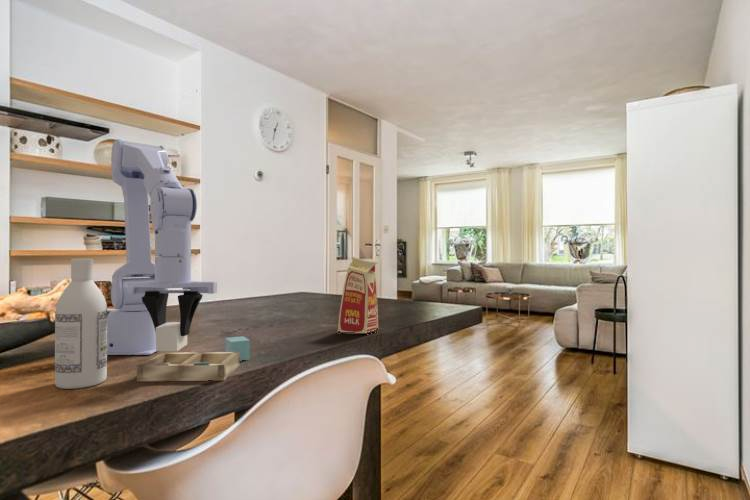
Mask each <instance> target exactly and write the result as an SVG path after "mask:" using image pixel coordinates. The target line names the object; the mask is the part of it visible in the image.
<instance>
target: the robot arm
mask: <svg viewBox="0 0 750 500" xmlns="http://www.w3.org/2000/svg"><path fill="white" fill-rule="evenodd" d="M110 157H111V158H110V159H111V160H110V163H111V177H112V181H113V182H114V183H115V184H117V185H118V186H120V187H121V190H122V196H123V207H124V229H125V230H124V232H125V233H124V234H125V252H126V253H125V254H126V262H125V263H124V264H123V265H121V266H120V267H118V268H117V269H116V270H115V271H114V272H113V274H112V276H111V288H110V300H111V304H112V306H113V307H114V308H115V309H112V310H111V311H109V313H107V356H131V355H133V356H141V355H142V356H143V355H146V356H148V355H153V354H154V353H155V352H156V353H157V351H156V327H158V326H160V325H162V324H164V323H167V320H166V319H167V318H166V317H167V316H166V315H167V305H168V299H169V294H179V295H177V301H178V305H179V313H180V315H179V316H180V321H179V322H180V334H181V336H186V335H187V336H188V335H189V334H190V330H191V325H192V321H193V318H194V315H195V313H196V310H197V308H198V306H199V304H200V303H201V300H202V299H203V294H208V295H210V294H211V295H212V294H216V293H217V292H218V281H193V280H191V279H192V276H191V275H192V274H191V273H192V272H191V271H192V266H191V265H192V262H191V261H192V222H193V221H194V219H195V218H196V215H197V209H198V204H197V203H198V201H197V196H196V193H195V191H194V189H193V188H184V187H183V185H182V184H181V182H180V180H178V177H177V175H176V174H175V173H174V171H172V170H171V169H170V167H168V164H169V154H168V150H167V149H166V147H165V146H163V145H153V144H146V143H139V142H134V141H128V140H127V141H126V140H122V139H119V138H117V139H116V140H115V141H113V143H112V146H111V155H110ZM149 198H150V202H149ZM149 205H150V207H149ZM149 210H150V211H149ZM150 215H151V225H152V226H151V225H150ZM151 227H152V230H153V231H154V262H153V261H152V250H151V249H152V247H151V244H152V243H151Z"/></svg>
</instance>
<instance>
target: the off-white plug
mask: <svg viewBox="0 0 750 500" xmlns="http://www.w3.org/2000/svg"><path fill="white" fill-rule="evenodd" d="M187 345H188V335H186V336H181V334H180V321H178V322H177V321H168V322H167V321H166V323H164V324H162V325H160V326H158V327H156V352H179V351H180V350H181V349H182V348H184V347H186V346H187Z"/></svg>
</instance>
